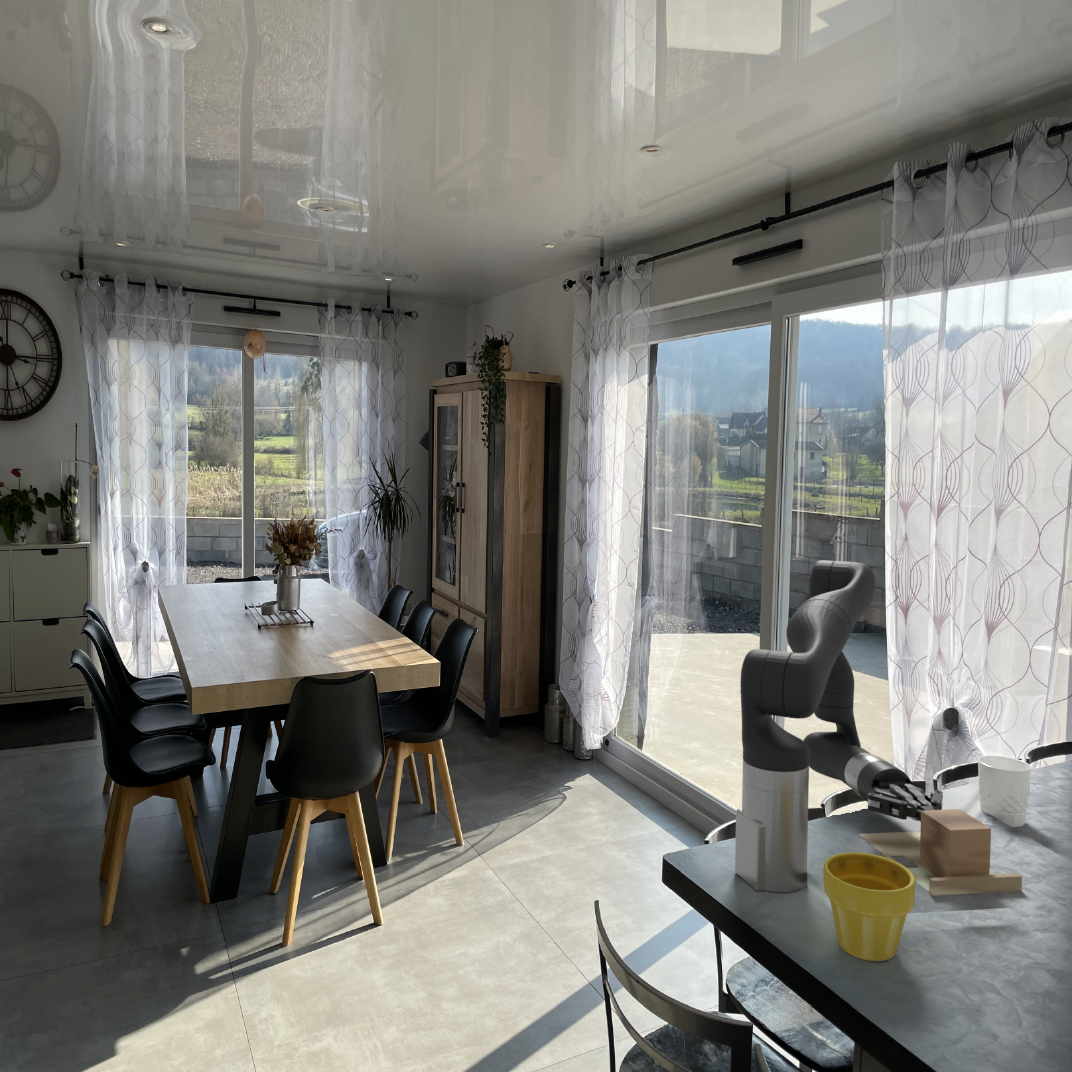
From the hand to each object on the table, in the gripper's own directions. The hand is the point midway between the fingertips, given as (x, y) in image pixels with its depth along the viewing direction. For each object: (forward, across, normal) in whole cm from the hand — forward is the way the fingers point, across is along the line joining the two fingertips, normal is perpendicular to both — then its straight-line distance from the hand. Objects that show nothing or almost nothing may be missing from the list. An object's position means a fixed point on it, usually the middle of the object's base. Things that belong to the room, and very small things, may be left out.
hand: (938, 822), depth 119 cm
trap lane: (-1, 0, +8) cm, 8 cm away
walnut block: (+4, 0, +6) cm, 7 cm away
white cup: (-17, +23, +8) cm, 30 cm away
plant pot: (+18, -21, +8) cm, 28 cm away
